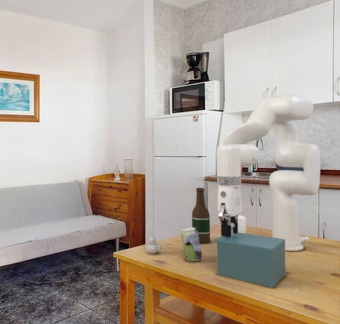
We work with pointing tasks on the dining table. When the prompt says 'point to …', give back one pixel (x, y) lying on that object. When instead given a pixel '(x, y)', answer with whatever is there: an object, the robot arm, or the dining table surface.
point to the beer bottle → (201, 217)
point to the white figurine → (152, 245)
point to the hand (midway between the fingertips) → (229, 234)
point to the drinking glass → (241, 224)
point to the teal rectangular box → (251, 263)
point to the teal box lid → (251, 240)
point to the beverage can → (191, 244)
